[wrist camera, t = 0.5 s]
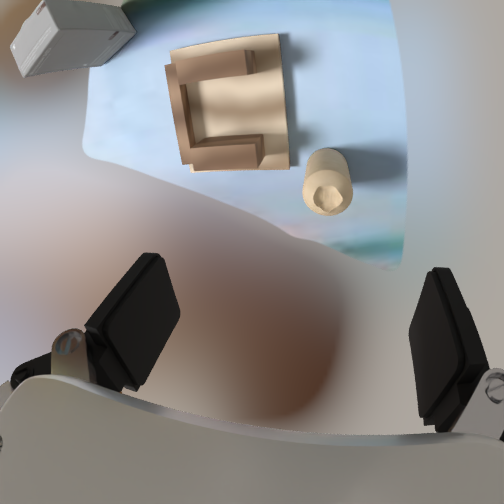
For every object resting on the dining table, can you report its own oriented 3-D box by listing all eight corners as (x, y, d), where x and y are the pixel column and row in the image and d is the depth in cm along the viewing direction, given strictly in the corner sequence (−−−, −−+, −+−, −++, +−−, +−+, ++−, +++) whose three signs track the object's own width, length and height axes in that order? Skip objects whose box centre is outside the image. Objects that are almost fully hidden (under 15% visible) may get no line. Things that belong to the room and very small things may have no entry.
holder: (173, 51, 32) (150, 51, 27) (278, 34, 29) (270, 29, 24) (193, 169, 43) (176, 187, 38) (290, 166, 39) (284, 184, 34)
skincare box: (103, 66, 35) (23, 86, 22) (84, 36, 32) (5, 49, 19) (140, 31, 31) (59, 34, 18) (120, 1, 28) (39, -3, 15)
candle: (349, 149, 36) (357, 177, 28) (345, 188, 39) (350, 225, 31) (307, 145, 37) (302, 172, 29) (305, 183, 40) (300, 219, 32)
